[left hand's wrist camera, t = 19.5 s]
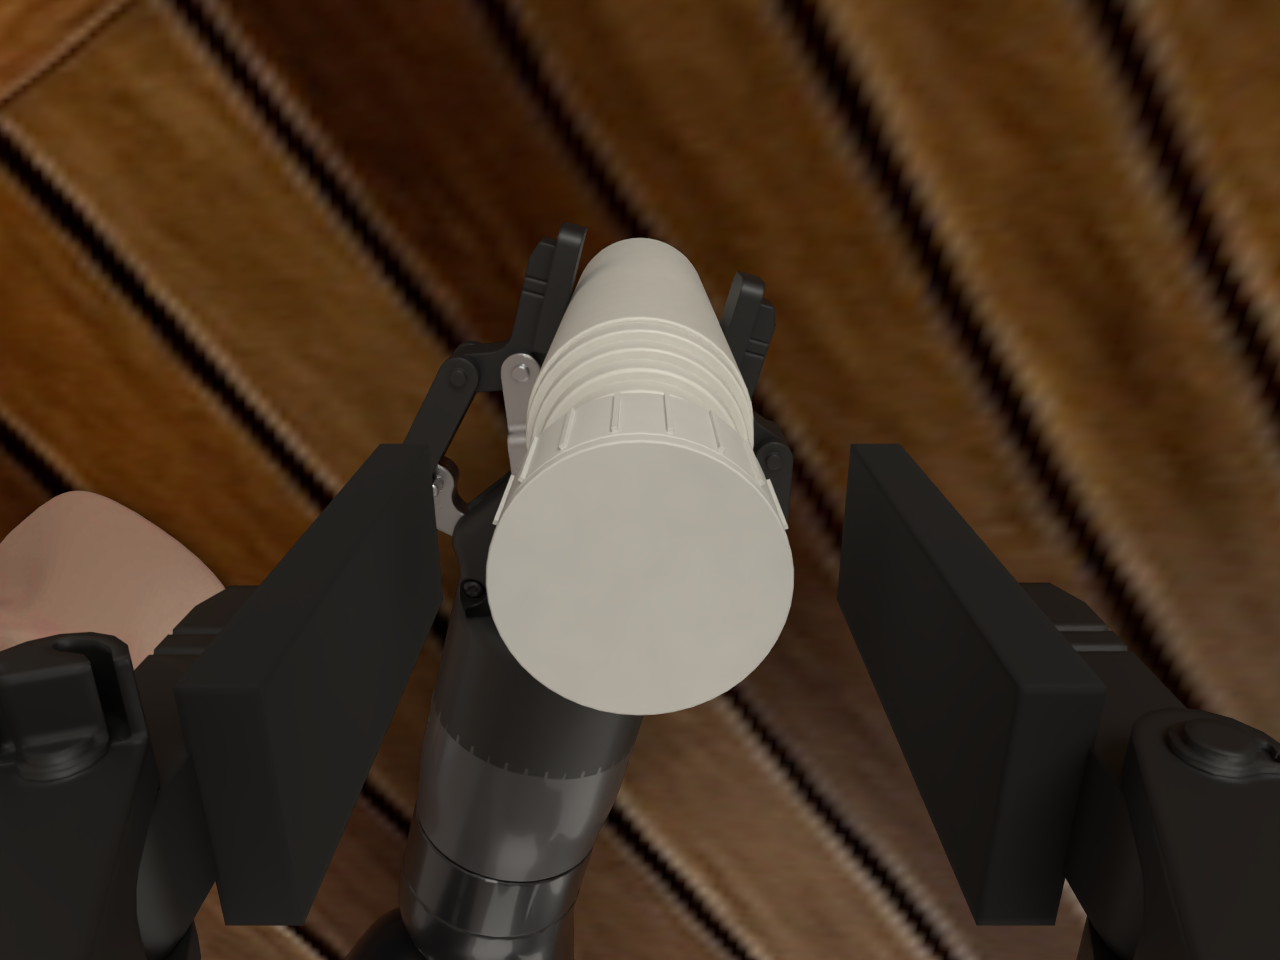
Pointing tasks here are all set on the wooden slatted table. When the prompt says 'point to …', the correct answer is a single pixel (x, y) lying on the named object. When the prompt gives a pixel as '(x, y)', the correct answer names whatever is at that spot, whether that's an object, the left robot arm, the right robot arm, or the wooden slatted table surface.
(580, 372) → the bottle
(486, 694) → the right robot arm
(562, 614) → the cap
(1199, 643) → the wooden slatted table surface
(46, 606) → the anatomical model
